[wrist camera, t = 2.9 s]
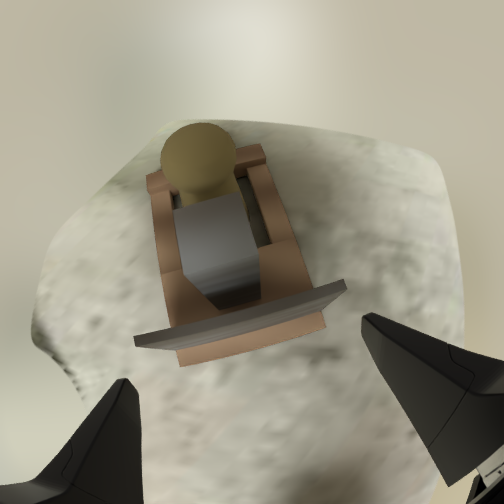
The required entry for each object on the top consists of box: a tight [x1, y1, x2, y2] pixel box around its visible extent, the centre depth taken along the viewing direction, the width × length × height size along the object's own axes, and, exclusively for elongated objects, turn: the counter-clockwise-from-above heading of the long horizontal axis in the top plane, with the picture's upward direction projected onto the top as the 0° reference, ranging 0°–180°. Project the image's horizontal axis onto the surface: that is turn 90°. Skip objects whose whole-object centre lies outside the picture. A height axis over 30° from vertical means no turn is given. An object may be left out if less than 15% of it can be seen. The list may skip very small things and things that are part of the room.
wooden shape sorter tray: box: [133, 144, 347, 367], centre depth 19 cm, size 18×12×11 cm, turn 16°
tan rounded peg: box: [160, 123, 250, 222], centre depth 21 cm, size 6×6×11 cm
